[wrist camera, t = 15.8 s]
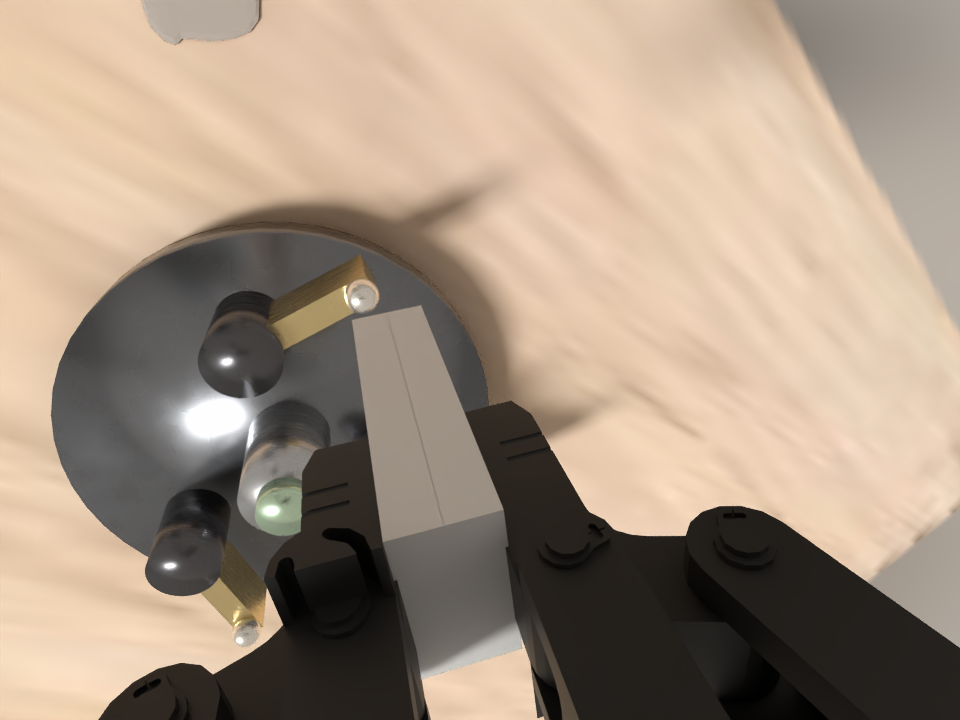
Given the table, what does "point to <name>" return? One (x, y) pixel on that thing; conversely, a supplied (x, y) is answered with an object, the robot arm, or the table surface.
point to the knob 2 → (278, 327)
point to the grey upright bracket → (201, 18)
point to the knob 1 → (207, 562)
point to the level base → (209, 414)
